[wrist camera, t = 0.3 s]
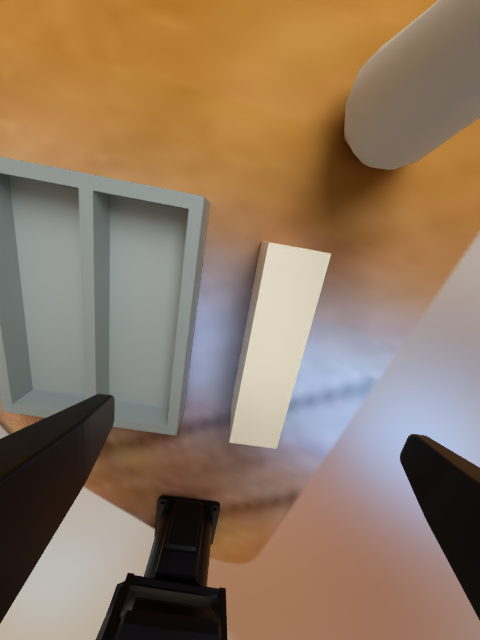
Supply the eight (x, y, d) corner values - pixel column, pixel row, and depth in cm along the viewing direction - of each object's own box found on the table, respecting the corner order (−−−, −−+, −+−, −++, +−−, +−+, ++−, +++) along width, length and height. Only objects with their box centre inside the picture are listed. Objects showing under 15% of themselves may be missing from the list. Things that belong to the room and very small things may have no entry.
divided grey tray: (184, 410, 23) (176, 435, 20) (33, 388, 22) (2, 411, 19) (209, 202, 17) (204, 196, 14) (8, 163, 16) (-41, 149, 13)
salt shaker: (315, 106, 15) (621, -408, 3) (405, 43, 14) (1379, -1080, 2) (352, 196, 17) (650, 94, 5) (435, 144, 16) (1081, -152, 4)
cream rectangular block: (269, 404, 23) (276, 448, 18) (231, 399, 23) (229, 442, 18) (307, 248, 18) (331, 253, 14) (261, 240, 18) (268, 242, 13)
